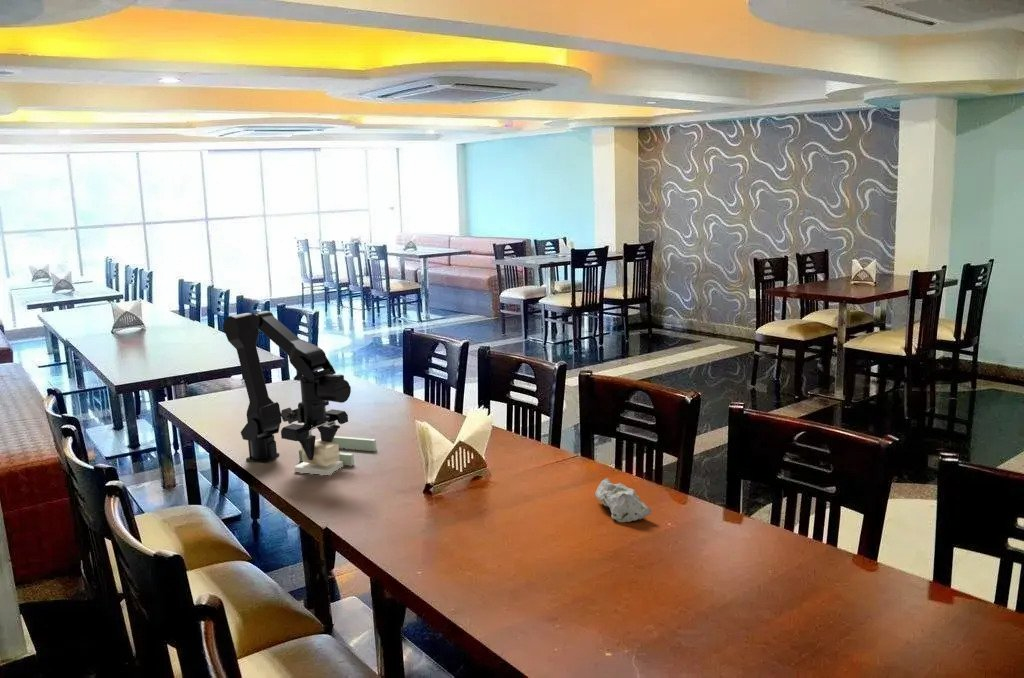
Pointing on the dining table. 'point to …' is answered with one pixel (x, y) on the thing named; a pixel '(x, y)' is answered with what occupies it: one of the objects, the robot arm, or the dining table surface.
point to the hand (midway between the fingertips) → (317, 456)
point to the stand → (318, 468)
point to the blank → (323, 453)
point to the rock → (621, 501)
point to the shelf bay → (350, 447)
